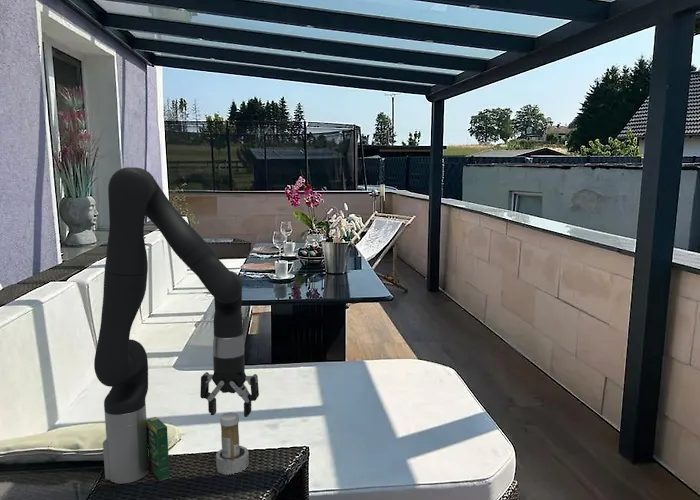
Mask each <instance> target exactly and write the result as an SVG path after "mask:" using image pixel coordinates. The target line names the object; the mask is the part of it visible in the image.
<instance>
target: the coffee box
mask: <svg viewBox="0 0 700 500" xmlns="http://www.w3.org/2000/svg"><path fill="white" fill-rule="evenodd" d="M146 419H147V418H146ZM147 436H148V453H149V470H150V471H151V472H152V474H153V475H154V476H155V478H156V479H157V480H158V481H159V482H162V481H165V480H167V479H169V478H170V477H171V475H170V473H171V472H170V457H169V455H170V454H169V439H168V438H169V437H168V426H167V425H166V424H165V423H164V422H163V421H161V419H159V418H158V417H157V416H154V417H151V418H148V419H147Z"/></svg>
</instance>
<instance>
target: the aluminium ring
mask: <svg viewBox="0 0 700 500" xmlns="http://www.w3.org/2000/svg"><path fill="white" fill-rule="evenodd" d="M239 447H240V457H239V458H236V459H232V460H229V459H223V456H222V448H221V449H218V451H217V453H216V454H215V461H216V462H215V464H216V471H217V472H218V473H220V474H222V475H227V476H228V475H229V474H230V475H229V476H232V475H231V474H233V475H235V474H234V473H238V472H241V471H242V470H244V471H246V470H247V469H248V468H249V466H250V455H249V452H250V451H249V450H248V447H245V446H242V445H239ZM248 465H249V466H248ZM247 467H248V468H247ZM246 468H247V469H246ZM245 469H246V470H245ZM241 473H242V472H241ZM238 474H239V473H238Z"/></svg>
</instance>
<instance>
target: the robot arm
mask: <svg viewBox="0 0 700 500" xmlns="http://www.w3.org/2000/svg"><path fill="white" fill-rule="evenodd" d="M154 177H155V176H153V175H152V174H151V173H150V172H149V171H147V170H146V169H144V168H141V167H131V166H127V167H123V168H120V169H118V170H116V171H115V172H114V173H113V174H112V175H111V177H110V179H109V182H108V187H107V191H108V197H107V198H108V211H109V212H108V213H109V217H108V218H109V230H108V238H107V244H106V254H105V265H104V276H103V291H102V292H103V293H102V294H103V297H102V306H101V318H100V328H99V334H98V338H97V342H96V343H97V345H96V349H95V353H94V359H93V360H94V364H93V365H94V372H95V376H96V378H97V380H98V381H99V382H100V383H101V384H102V385H103V386H105V387H110V390H109V392H108V393H107V394H106V396H105V397H104V400H103V409H104V423H105V438H106V439H105V440H103V442H102V452H103V453H102V454H103V464H104V467H103V468H104V479H105V480H109V481H110V482H112V483H113V482H114V484H119V485H121V484H130V483H133V482H137V481H139V480H141V479H143V478H144V477H146V476H147V475H148V474H149V472H150V466H149V451H148V436H147V407H146V397H147V395H148V391H149V363H148V361H149V359H148V355H147V351H146V349H145V347H144V346H143V345H142V344H141V342H139V341H137V340H135V339H130V336H131V329H132V325H133V323H134V321H135V319H136V317H137V314H138V312H139V311H140V308H141V306H142V304H143V303H142V302H143V301H144V298H145V295H146V291H147V283H148V273H149V272H148V270H149V269H148V268H149V267H148V266H149V264H148V263H149V261H148V255H147V254H148V253H147V247H146V242H145V235H144V229H145V221H146V217H147V218H148V219H149V220H150V221H151V222H152V223H153V225H154V226H155V227H156V228H157V230H159V232H160V233H161V234H162V236H163V237H164V239H165V240H166V242H167V244H168V245H169V247H170V248H171V249H172V251H173V252H174V253H175V254H176V255H177V256H178V258H179V260H181V261H182V262H183V263H184V265H186V266H187V267H188V268H189V269H190V270H191V271H192V272H193V273H194V274H195V275H196V276H197V278H198V279H199V281H200V282H201V283H202V285H203V286H204V287H205V288H206V290H207V291H208V292H209V293H210V295H212V296H213V298H214V314H213V341H212V355H213V357H212V359H213V360H212V361H213V374H210V373H209V372H207V371H206V372H205V373H203V374H202V375H201V377H200V392H199V393H200V399H203V400H204V399H205V400H207V406H208V409H207V411H208V413H209V414H210V416H215V415H216V413H217V397H216V396H217V395H218V394H219V392H221V393H222V394H226V393H230V394H235V393H236V394H237V395H238V396H239V397H240V398H241V399H242V400H243V401H244V403H243V417H244V418H248V417H249V415H250V414H251V412H252V402H255V401H256V400H258V398H259V396H260V391H259V379H258V377H259V376H258V374H255V373H254V374H253V375H246V372H245V367H246V366H245V351H246V349H245V339H244V331H243V330H244V327H243V326H244V324H243V323H244V322H243V321H244V320H243V313H242V306H243V305H242V304H243V303H242V300H243V281H242V278H241V277H240V275H239V274H238V273H236V272H234V271H233V270H230V269H229V268H227V267H226V265H225V264H224V263H223V262H222V261H221V260H220V258H219V256H218V254H217V253H216V252H215V250H214V249H213V248H212V247H211V246H210V245H209V244H208V242H206V240H204V238H203V237H202V236H201V235H200V234H199V232H197V231H196V230H195V229H194V228H193V227H192V225H190V224H189V223H188V222H187V220H186V219H185V217H183V216H182V215H181V214H180V213H179V211H177V209H176V208H175V206H174V205H173V204H172V203H171V201H170V200H169V199H168V197H167V196H166V194H165V193H164V191H163V190H162V188H161V187H160V185H159V184H158V182H157V181H156V179H155V178H154ZM211 381H212V382H213V383H214V385H215V387H214V389H213V390H212V392H209V389H210V388H209V387H210V382H211ZM245 382H247V384H248V385H249V386H250V392H249V390H248V387H247V386H246V385H245Z"/></svg>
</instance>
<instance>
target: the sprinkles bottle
mask: <svg viewBox="0 0 700 500" xmlns="http://www.w3.org/2000/svg"><path fill="white" fill-rule="evenodd" d="M239 422H240V417H239V414H238V413H237V412H233V411H232V412H231V411H230V412H226V413H223V414H222V415H220V418H219V424H220V429H221V430H220V431H221V449H222V456H223V459H229V460H232V459H236V458H239V457H240V447H239V446H240V435H239V434H240V433H239V432H240V431H239Z"/></svg>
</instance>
